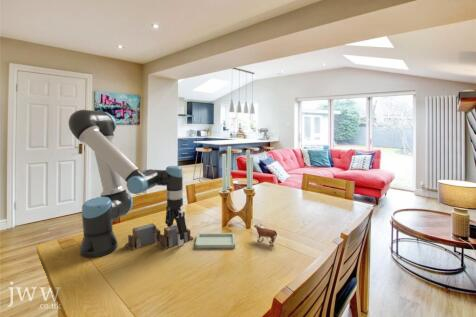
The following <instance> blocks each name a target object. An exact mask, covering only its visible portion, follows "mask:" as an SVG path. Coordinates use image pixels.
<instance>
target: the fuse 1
mask: <svg viewBox="0 0 476 317" xmlns="http://www.w3.org/2000/svg"><path fill="white" fill-rule="evenodd" d="M156 228H157V226H156V224H154V223H153V222H152V223H149V224H143V225H142V226H141V225H140V226H137V227H133V228H132V235H133V238H134V246H135V248H137V241H136V239H137V238H140V243H141V246H145V245H148V244H151V243H154V234H155V233H156Z"/></svg>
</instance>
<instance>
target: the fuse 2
mask: <svg viewBox="0 0 476 317" xmlns="http://www.w3.org/2000/svg"><path fill="white" fill-rule="evenodd" d="M163 233H164V236H165V237H166V238H167V247H168V248H169V238H172V246H174V245H175V246H176V245H178V233H179V231H178V227H177V224H175V225H173V226H170V227H168V226H167V227H164V228H163ZM185 233H186V232H185Z"/></svg>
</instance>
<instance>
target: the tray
mask: <svg viewBox="0 0 476 317" xmlns="http://www.w3.org/2000/svg"><path fill="white" fill-rule="evenodd" d="M194 249H195V250H196V249H197V250H198V249H200V250H201V249H207V250H208V249H236V237H235V233H234V232H200V233H197V236H196V239H195V243H194Z"/></svg>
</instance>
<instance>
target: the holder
mask: <svg viewBox="0 0 476 317" xmlns="http://www.w3.org/2000/svg"><path fill="white" fill-rule="evenodd" d="M160 235H161V230H160V229H159V228H158V227H156V233H155V234H154V242H153V243H158V242H160ZM127 239H128V242H126V243H124V244H125V246H124V247H126V248H127V249H128V250H129V251H133V250H135V249H136V248H137V249H139V248H141V243H140V238H137V239H136V241H137V247H135V246H134V238H133V234H132V235H131V234H128V236H127Z"/></svg>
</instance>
